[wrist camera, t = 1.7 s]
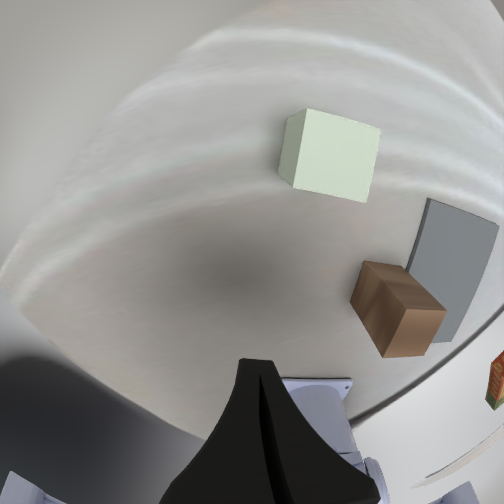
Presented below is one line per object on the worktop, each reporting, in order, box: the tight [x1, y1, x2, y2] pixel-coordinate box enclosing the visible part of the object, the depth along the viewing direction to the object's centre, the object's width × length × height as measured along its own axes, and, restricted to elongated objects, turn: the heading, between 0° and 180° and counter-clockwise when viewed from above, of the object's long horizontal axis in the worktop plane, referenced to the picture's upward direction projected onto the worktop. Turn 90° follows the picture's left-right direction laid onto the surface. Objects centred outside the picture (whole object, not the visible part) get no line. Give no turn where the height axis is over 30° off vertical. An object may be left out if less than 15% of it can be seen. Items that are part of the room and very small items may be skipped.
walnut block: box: [350, 261, 447, 358], centre depth 18 cm, size 4×4×7 cm
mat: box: [406, 199, 499, 343], centre depth 22 cm, size 14×11×1 cm
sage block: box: [277, 108, 381, 203], centre depth 15 cm, size 4×4×6 cm
